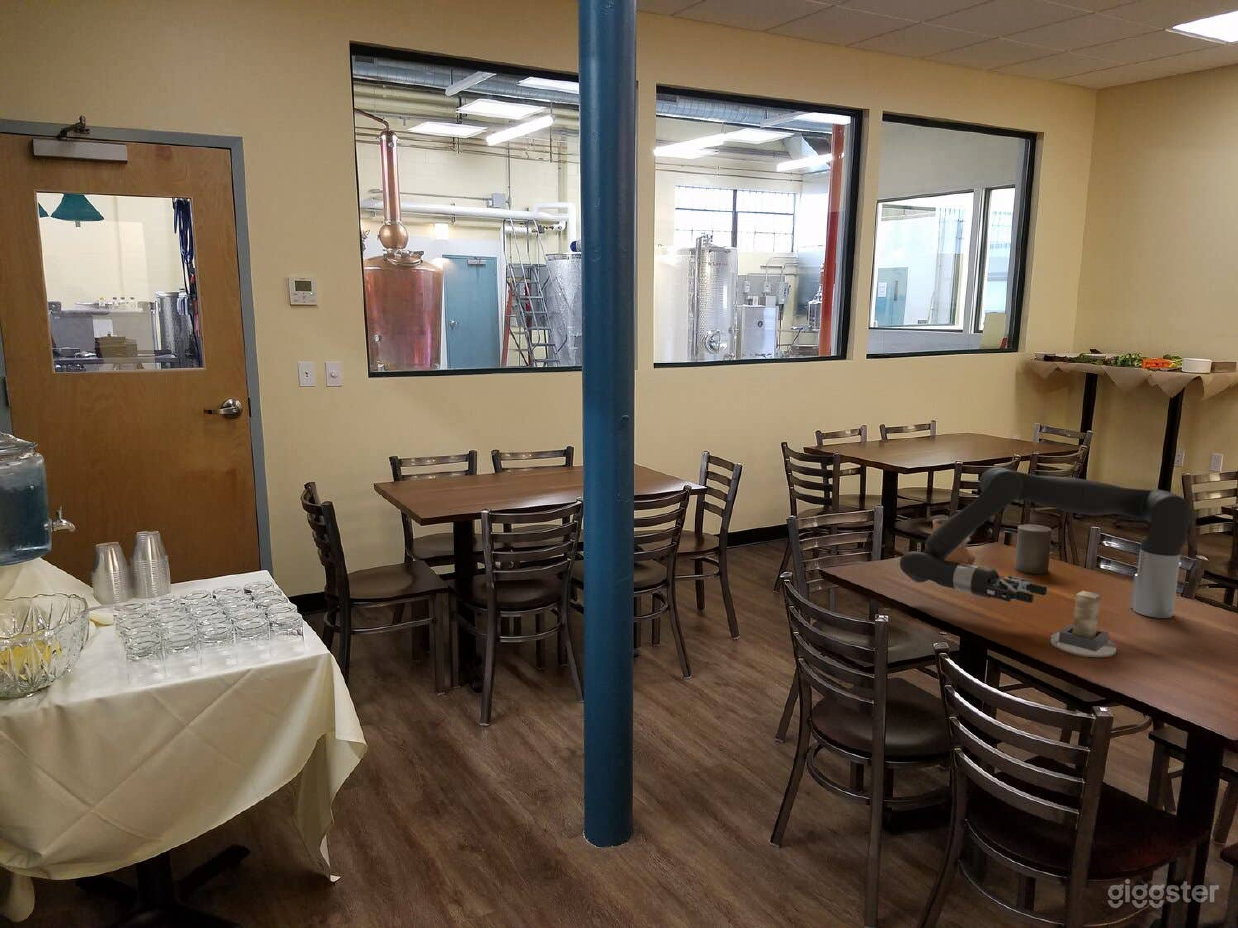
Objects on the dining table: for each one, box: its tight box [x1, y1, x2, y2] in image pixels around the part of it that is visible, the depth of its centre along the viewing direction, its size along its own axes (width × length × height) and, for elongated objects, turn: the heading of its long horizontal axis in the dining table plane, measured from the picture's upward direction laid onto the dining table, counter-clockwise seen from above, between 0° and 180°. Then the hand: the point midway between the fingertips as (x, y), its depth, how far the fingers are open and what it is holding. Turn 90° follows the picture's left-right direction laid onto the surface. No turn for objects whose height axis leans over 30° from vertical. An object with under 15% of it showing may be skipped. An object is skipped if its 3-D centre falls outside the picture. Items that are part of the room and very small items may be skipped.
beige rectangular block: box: [1072, 590, 1101, 639], centre depth 208 cm, size 4×4×12 cm
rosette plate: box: [1050, 623, 1117, 659], centre depth 209 cm, size 14×14×4 cm
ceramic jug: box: [931, 518, 976, 565], centre depth 275 cm, size 18×14×14 cm
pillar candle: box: [1014, 523, 1053, 575], centre depth 271 cm, size 10×10×15 cm
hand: (1039, 594), depth 215 cm, fingers open, 8 cm apart
